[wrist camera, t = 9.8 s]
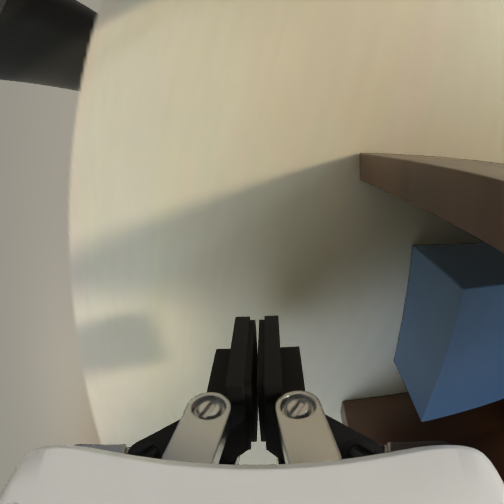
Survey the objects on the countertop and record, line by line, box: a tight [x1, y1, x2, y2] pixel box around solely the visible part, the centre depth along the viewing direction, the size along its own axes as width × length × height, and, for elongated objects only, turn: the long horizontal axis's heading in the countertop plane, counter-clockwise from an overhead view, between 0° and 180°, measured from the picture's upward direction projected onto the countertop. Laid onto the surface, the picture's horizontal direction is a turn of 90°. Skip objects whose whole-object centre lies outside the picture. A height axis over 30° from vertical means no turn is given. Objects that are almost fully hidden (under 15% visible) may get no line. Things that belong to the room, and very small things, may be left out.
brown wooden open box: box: [341, 153, 504, 483], centre depth 10 cm, size 12×15×10 cm
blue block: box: [394, 243, 504, 422], centre depth 13 cm, size 8×7×5 cm
